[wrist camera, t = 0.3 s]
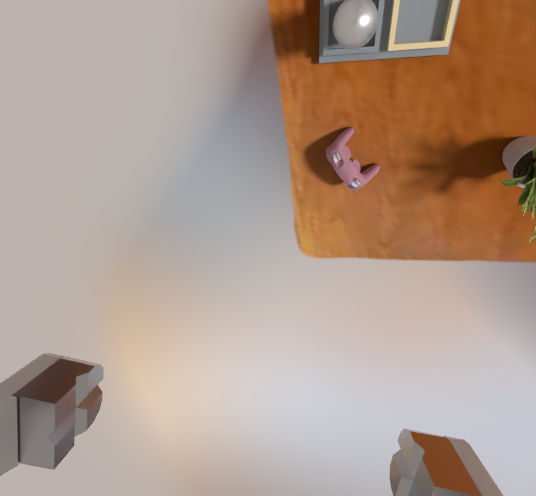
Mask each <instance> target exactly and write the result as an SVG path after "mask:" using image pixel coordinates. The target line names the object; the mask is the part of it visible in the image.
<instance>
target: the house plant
mask: <svg viewBox="0 0 536 496" xmlns="http://www.w3.org/2000/svg"><path fill="white" fill-rule="evenodd" d="M502 160H503V163H504V165H505V167H506V169H507V171H508V173H509V175H510V177H511V179H510V180H500V181H501V182H502V183H503V185H504V186H514V185H517V186H519V187H521V188H524V190H523V192H522V194H521V195H520V198H519V203H518V205H521V204H523V206H522V210H521V211H524V214H525V212H526V211H531V210H533V213H532V219H533V217H534V214H535V212H536V138H535V137H531V136H523V137H519V138H517V139H515V140H513V141H512V142H510V143H509V144H508V145H507V146H506V147H505V149H504V150H503V154H502ZM524 214H523V216H524ZM532 219H531V221H532ZM535 238H536V227H535V231H534V234H533V236H532V238H531V239H530V242H529V244H530V243H531V242H532V241H533V240H534V239H535Z"/></svg>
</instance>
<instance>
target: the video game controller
mask: <svg viewBox="0 0 536 496" xmlns="http://www.w3.org/2000/svg"><path fill="white" fill-rule="evenodd" d="M353 132H354V128H353V127H350V128H347V129H346V130H344V131H343V132H342V133H341V134H340V135H339V136H338V137H337V138H336V139H335V141H334V142H333V143H332V144H331V146H329V147H328V148H327V149H326V156H327V159H328V161H329V162H330V163H331V164H332V166H333V168H334V170H335V171H336V173H337V174H338V176H339V177H340V178H341V179H342V180H343V181H344V182H345V183H346V184H347V186H348V188H349V189H351V190H356V189H359V188H361V187H363V186H364V185H365V184H366V183H367V182H368V181H369V180H370V179H372V177H373V176H374V175H375V174H376V173H377V172H378V171H379V169H380V165H379V164H375V165H372V166H370V167H369V168H367V169H366V170H364V171H363V172H362V173H360V168H361V167H360V163H359V162H358V161H357V160H353V161H351V160H350V159H349V158H350V156H351V152H350V150H349V148H348V147H347V146H344V145H345V144H346V142H347V141H348V140H349V138H350V137H351V136H352V135H353Z"/></svg>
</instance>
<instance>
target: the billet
mask: <svg viewBox="0 0 536 496" xmlns="http://www.w3.org/2000/svg"><path fill="white" fill-rule="evenodd" d="M377 25H378V12H377V8H376V6H375V4H374V3H373V2H372V0H345V1H344V2H342V3H341V5H340V6H339V7H338V9H337V11H336V14H335V17H334V21H333V32H334V36H335V38H336V40H337V42H338V43H339V44H340V45H341V46H343V47H344V48H347V49H357V48H360V47H362V46H364V45H365V44H366V43H368V42H369V41H370V39H371V38H372V37H373V35H374V33H375V31H376V28H377Z"/></svg>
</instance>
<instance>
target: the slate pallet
mask: <svg viewBox="0 0 536 496" xmlns="http://www.w3.org/2000/svg"><path fill="white" fill-rule="evenodd" d="M344 1H345V0H320V34H319V63H330V62H345V61H359V60H373V59H387V58H402V57H416V56H430V55H445V54H448V52H449V48H450V44H451V39H452V35H453V30H454V26H455V22H456V17H457V13H458V9H459V4H460V0H372V2H373V3H374V4H375V6H376V8H377V12H378V25H377V28H376V31H375V33H374V35H373V37H372V38H371V39H370V41H369V42H368V43H366V44H365V45H364V46H362V47H360V48H357V49H347V48H344V47H343V46H341V45H340V44H339V43H338V42H337V40H336V38H335V36H334V32H333V21H334V17H335V14H336V11H337V9H338V7H339V6H340V5H341V3H342V2H344Z"/></svg>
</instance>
